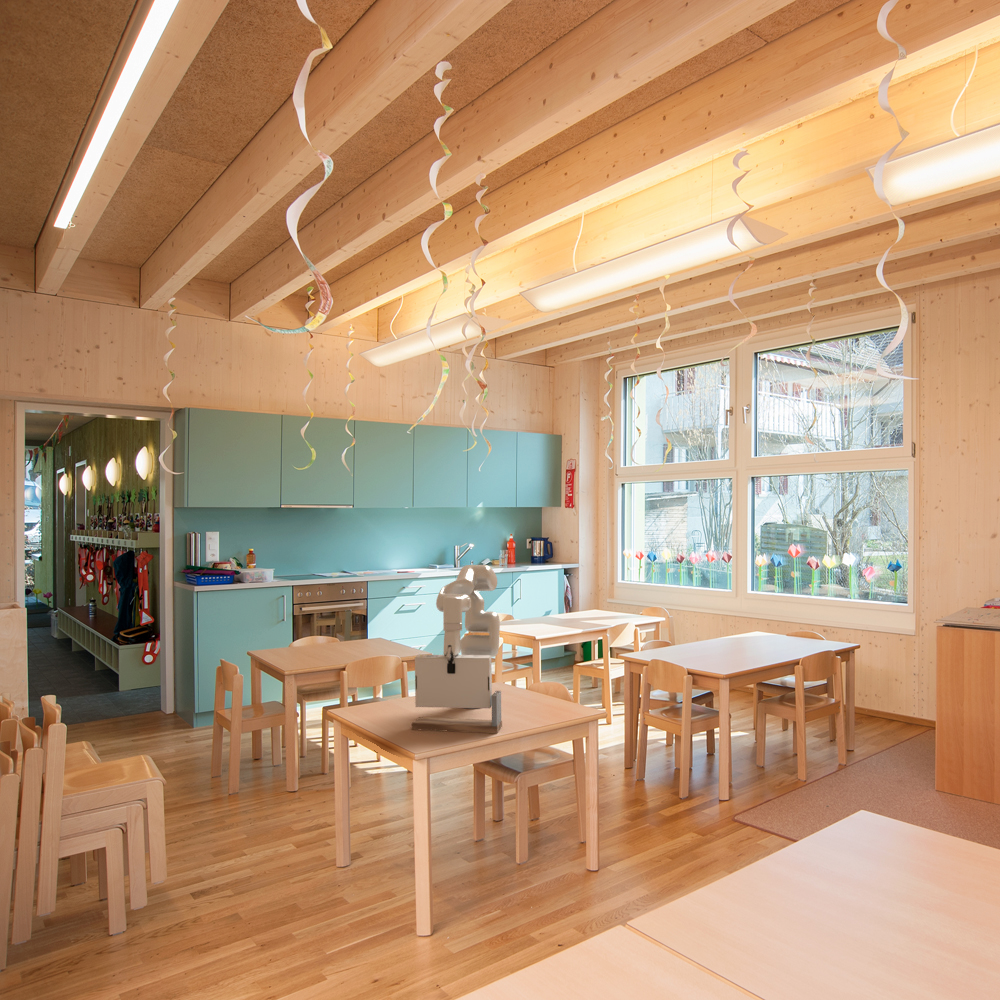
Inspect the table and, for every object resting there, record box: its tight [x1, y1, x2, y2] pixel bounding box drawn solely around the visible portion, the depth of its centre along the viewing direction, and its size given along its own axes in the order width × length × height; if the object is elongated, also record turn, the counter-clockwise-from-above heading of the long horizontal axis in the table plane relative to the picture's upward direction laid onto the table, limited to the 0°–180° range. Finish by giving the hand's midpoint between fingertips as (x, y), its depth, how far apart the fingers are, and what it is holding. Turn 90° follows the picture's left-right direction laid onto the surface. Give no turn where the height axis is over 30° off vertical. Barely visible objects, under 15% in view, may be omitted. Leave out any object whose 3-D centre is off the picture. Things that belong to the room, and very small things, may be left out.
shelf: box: [411, 716, 503, 734], centre depth 309 cm, size 10×35×2 cm, turn 79°
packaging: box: [414, 654, 493, 709], centre depth 310 cm, size 30×6×20 cm, turn 83°
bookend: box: [491, 690, 502, 727], centre depth 306 cm, size 9×2×12 cm, turn 169°
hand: (453, 671), depth 310 cm, fingers closed on packaging, 4 cm apart
